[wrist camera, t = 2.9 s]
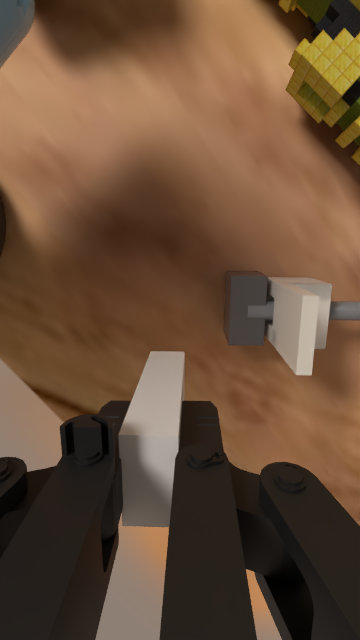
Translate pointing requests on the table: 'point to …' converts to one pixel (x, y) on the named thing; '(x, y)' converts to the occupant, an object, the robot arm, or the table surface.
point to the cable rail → (261, 308)
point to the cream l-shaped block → (298, 319)
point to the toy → (329, 66)
